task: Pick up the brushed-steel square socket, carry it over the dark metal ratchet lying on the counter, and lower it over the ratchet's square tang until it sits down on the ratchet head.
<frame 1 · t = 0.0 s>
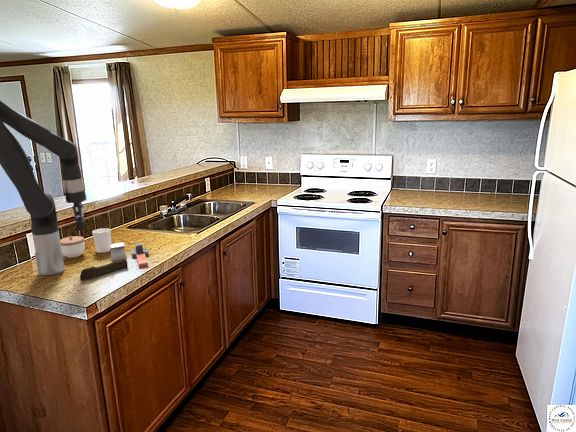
hand: (81, 227, 168), 17 cm above the worktop, tool pointing down, fingers open, 8 cm apart
lidded jar: (73, 255, 185), on the worktop
white cup: (104, 250, 192), on the worktop
ratchet: (140, 257, 182), on the worktop
steel socket: (118, 257, 182), on the worktop
hand tool: (105, 274, 163), on the worktop
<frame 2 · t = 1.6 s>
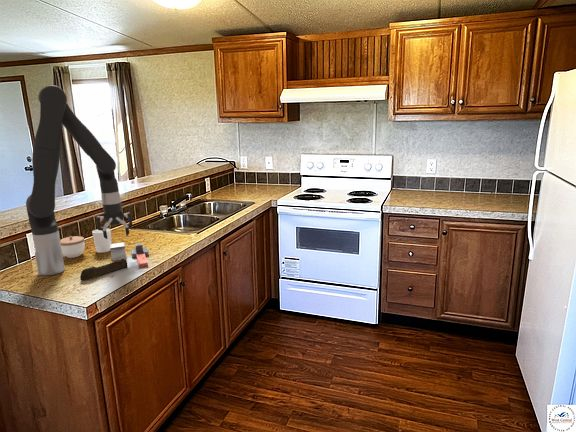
hand: (117, 236, 179), 10 cm above the worktop, tool pointing down, fingers open, 8 cm apart
nothing on the worktop moved.
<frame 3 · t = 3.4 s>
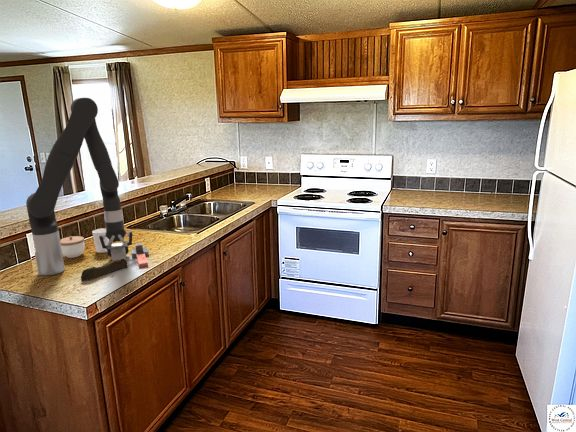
hand: (118, 255, 181), 1 cm above the worktop, tool pointing down, fingers closed on steel socket, 6 cm apart
steel socket: (118, 257, 182), on the worktop, touching gripper
everything else where it was.
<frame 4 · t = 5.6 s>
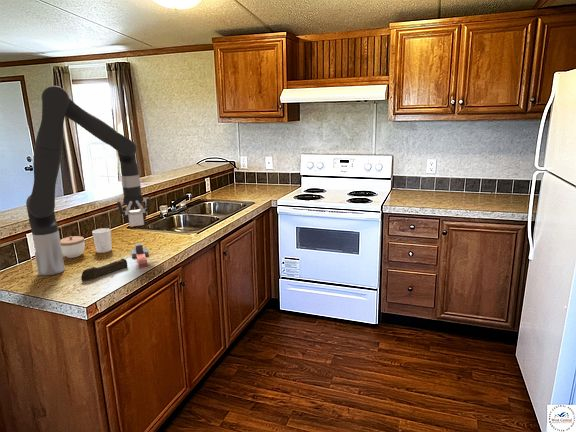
hand: (136, 221, 181), 16 cm above the worktop, tool pointing down, fingers closed on steel socket, 6 cm apart
steel socket: (136, 224, 182), point 15 cm above the worktop, touching gripper
everything else where it was.
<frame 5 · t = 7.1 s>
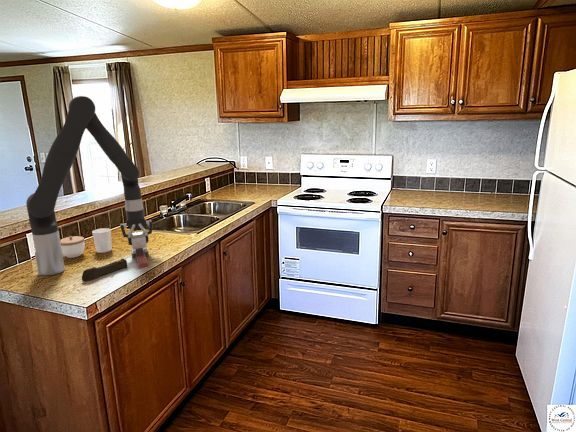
hand: (138, 243, 184), 5 cm above the worktop, tool pointing down, fingers closed on steel socket, 6 cm apart
steel socket: (139, 246, 184), point 4 cm above the worktop, touching gripper
everything else where it was.
when the fingers open (4 cm above the worktop, at t = 8.3 s): steel socket stays where it is, resting on ratchet.
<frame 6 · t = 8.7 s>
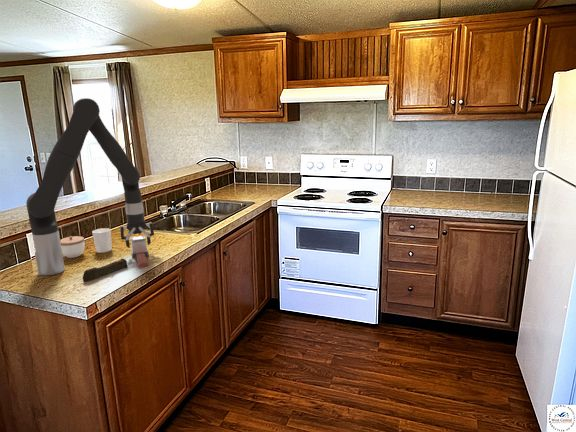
hand: (138, 246, 184), 4 cm above the worktop, tool pointing down, fingers open, 8 cm apart
ratchet: (140, 257, 182), on the worktop, touching steel socket
steel socket: (139, 250, 185), point 2 cm above the worktop, touching ratchet
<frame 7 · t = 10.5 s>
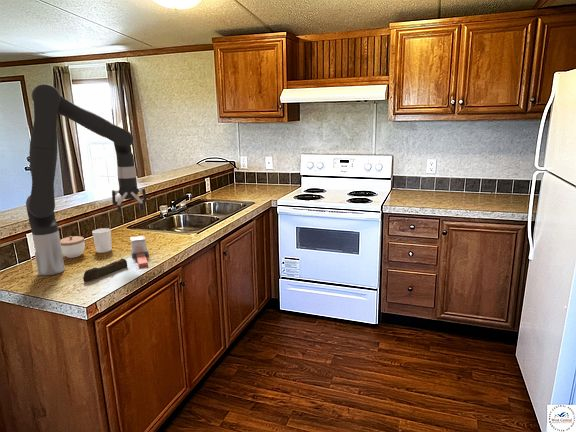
hand: (130, 212, 180), 20 cm above the worktop, tool pointing down, fingers open, 8 cm apart
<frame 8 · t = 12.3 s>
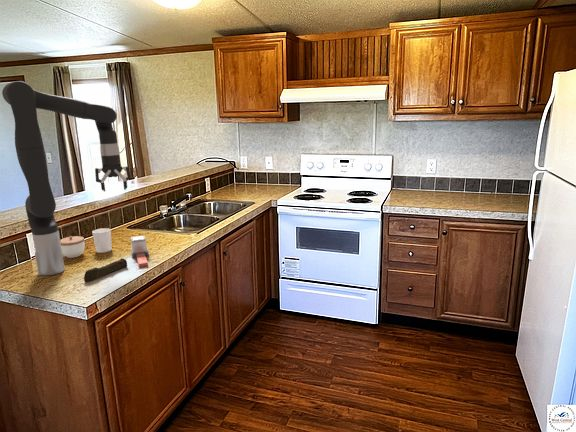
hand: (114, 190, 179), 30 cm above the worktop, tool pointing down, fingers open, 8 cm apart
at the end: steel socket 0.1 cm from the target spot on the ratchet, point 2.0 cm above the ratchet's base; steel socket tilted 0°; the gripper is holding nothing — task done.
